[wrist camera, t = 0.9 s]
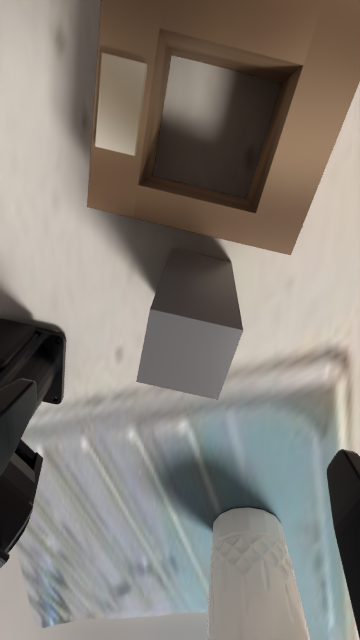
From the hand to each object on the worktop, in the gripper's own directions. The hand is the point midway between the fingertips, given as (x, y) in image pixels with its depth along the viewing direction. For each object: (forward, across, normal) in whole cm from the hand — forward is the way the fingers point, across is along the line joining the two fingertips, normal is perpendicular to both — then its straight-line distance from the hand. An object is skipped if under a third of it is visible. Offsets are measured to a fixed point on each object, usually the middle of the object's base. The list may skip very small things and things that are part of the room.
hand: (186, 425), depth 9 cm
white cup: (+12, -11, +25) cm, 29 cm away
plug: (+12, 0, +1) cm, 12 cm away
